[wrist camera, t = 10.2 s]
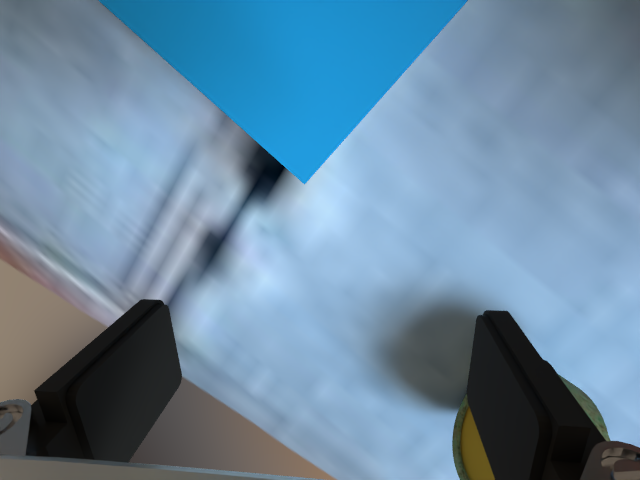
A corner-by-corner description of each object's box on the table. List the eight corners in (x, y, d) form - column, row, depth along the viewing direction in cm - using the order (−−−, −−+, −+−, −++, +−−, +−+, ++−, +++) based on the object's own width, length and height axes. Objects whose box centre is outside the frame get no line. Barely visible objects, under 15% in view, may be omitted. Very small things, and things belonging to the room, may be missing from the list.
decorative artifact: (525, 334, 28) (615, 449, 18) (593, 379, 28) (712, 512, 19) (439, 413, 31) (478, 546, 21) (502, 452, 32) (565, 596, 22)
